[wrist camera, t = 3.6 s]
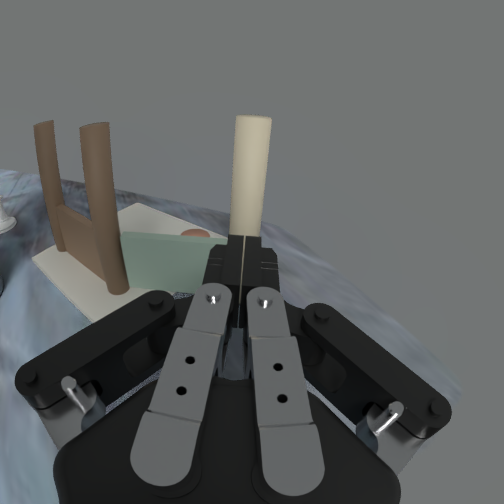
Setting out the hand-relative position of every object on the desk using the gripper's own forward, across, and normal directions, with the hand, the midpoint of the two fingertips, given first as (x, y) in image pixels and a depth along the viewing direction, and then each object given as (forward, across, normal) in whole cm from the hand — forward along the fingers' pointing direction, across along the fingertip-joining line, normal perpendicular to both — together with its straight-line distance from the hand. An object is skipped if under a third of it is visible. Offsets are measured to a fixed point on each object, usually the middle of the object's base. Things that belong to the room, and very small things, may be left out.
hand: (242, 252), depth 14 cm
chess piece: (+22, +43, +14) cm, 50 cm away
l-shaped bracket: (+11, +5, +12) cm, 17 cm away
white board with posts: (+18, +15, +14) cm, 27 cm away
